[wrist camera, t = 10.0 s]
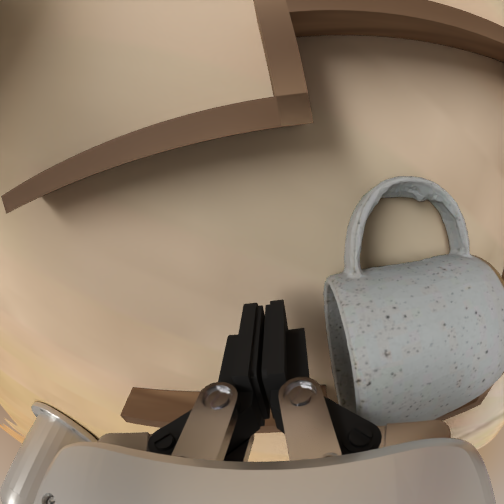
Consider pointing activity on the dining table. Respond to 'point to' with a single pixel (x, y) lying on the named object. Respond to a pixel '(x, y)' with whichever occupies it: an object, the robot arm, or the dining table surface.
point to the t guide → (269, 119)
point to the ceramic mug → (414, 321)
